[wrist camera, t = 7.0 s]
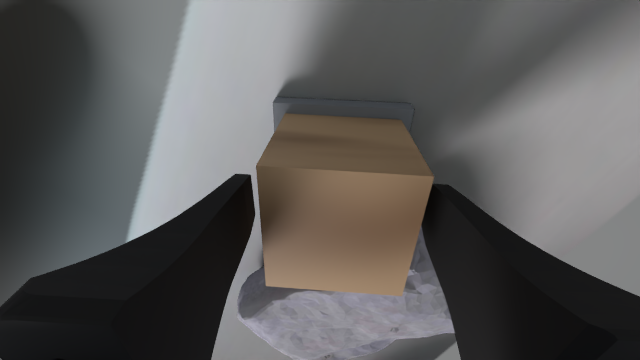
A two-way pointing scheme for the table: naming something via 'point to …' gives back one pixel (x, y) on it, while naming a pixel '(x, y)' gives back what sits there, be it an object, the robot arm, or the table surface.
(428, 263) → the stone block
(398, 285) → the tan cube
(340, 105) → the charcoal pad
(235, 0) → the table surface
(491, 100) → the table surface
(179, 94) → the table surface
